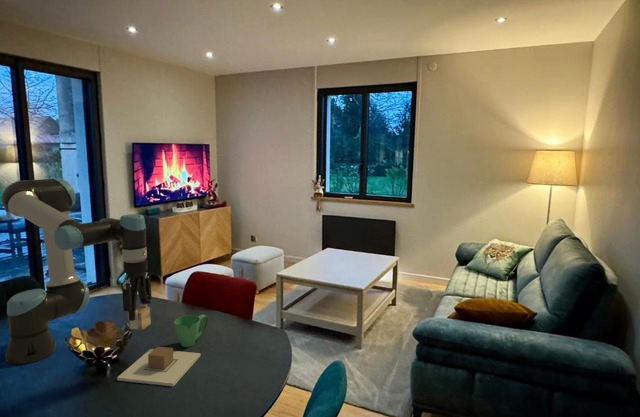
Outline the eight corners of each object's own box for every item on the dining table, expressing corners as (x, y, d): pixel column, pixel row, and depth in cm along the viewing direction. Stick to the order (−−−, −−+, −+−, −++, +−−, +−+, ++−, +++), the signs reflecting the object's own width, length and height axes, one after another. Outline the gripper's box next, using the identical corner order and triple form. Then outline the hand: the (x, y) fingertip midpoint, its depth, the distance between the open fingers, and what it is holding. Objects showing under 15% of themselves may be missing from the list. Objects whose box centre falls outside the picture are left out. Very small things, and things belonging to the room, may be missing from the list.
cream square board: (117, 380, 132) (116, 363, 131) (151, 351, 151) (150, 336, 151) (173, 386, 129) (172, 369, 128) (200, 355, 149) (200, 340, 148)
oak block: (129, 328, 136) (127, 312, 135) (138, 322, 140) (136, 306, 140) (142, 329, 135) (141, 312, 134) (150, 323, 140) (149, 307, 139)
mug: (186, 352, 151) (185, 327, 149) (169, 345, 156) (168, 321, 154) (214, 337, 163) (214, 314, 162) (198, 332, 168) (197, 309, 167)
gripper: (128, 267, 125) (133, 337, 128) (160, 254, 143) (163, 315, 146) (107, 266, 126) (112, 335, 129) (141, 253, 144) (145, 314, 147)
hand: (139, 325), depth 138 cm, fingers closed on oak block, 5 cm apart
